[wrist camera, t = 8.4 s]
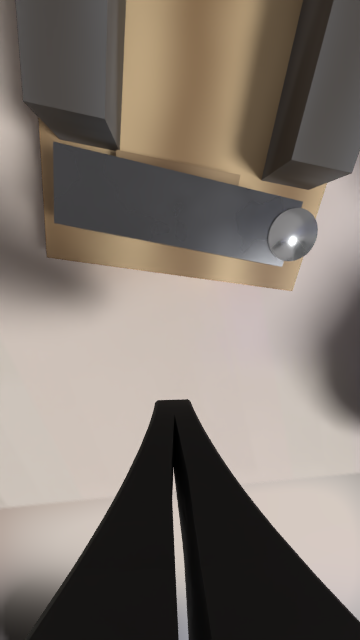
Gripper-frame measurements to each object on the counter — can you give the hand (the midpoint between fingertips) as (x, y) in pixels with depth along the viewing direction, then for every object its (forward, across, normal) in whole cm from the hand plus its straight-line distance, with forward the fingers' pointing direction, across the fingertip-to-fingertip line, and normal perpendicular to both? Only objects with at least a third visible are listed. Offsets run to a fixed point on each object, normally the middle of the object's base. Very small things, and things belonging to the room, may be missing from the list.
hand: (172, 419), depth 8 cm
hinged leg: (+7, -1, -8) cm, 11 cm away
